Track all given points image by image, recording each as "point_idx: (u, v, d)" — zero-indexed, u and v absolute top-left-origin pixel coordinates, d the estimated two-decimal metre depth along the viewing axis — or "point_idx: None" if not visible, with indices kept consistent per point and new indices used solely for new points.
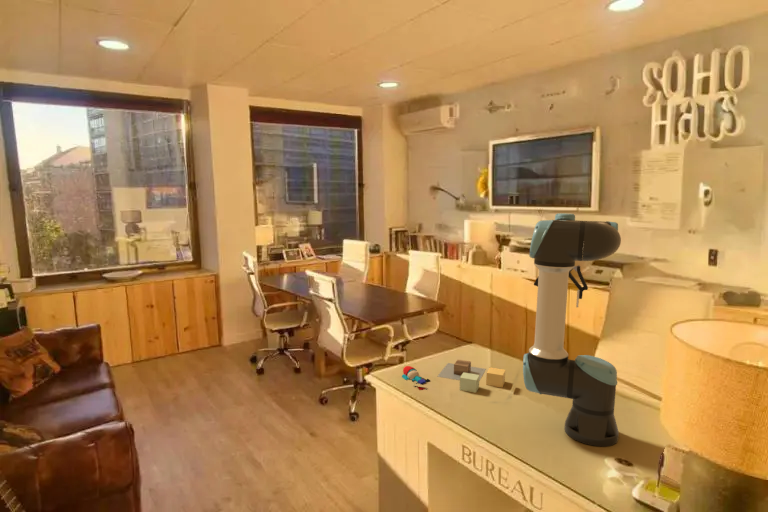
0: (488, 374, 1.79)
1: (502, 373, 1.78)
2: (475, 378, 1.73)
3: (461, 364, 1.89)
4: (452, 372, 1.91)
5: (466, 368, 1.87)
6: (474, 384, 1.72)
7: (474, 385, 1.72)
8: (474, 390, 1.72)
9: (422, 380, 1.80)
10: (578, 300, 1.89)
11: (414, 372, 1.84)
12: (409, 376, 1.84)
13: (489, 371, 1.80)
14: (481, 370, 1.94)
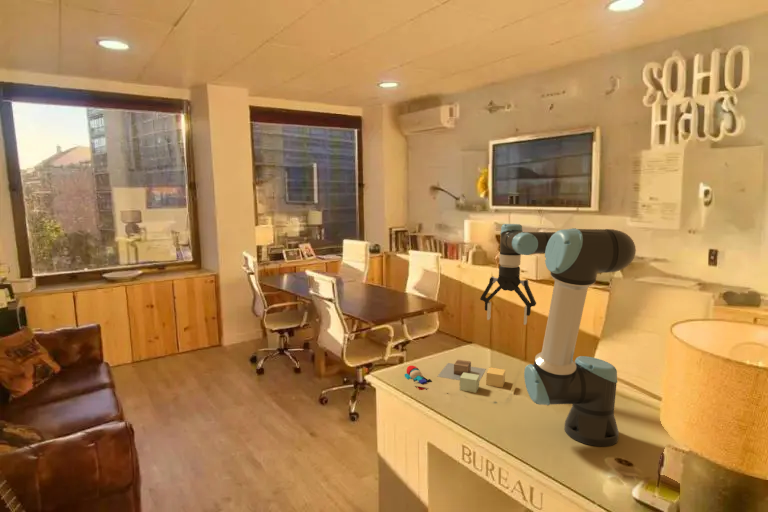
0: (488, 374, 1.79)
1: (502, 373, 1.78)
2: (475, 378, 1.73)
3: (461, 364, 1.89)
4: (452, 372, 1.91)
5: (466, 368, 1.87)
6: (474, 384, 1.72)
7: (474, 385, 1.72)
8: (474, 390, 1.72)
9: (423, 380, 1.80)
10: (525, 317, 1.76)
11: (416, 372, 1.84)
12: (411, 375, 1.84)
13: (489, 371, 1.80)
14: (481, 370, 1.94)
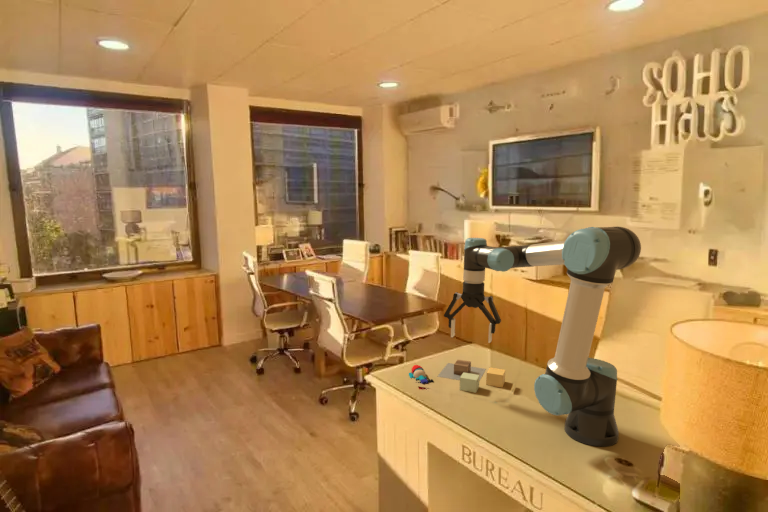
0: (488, 374, 1.79)
1: (502, 373, 1.78)
2: (475, 378, 1.73)
3: (461, 364, 1.89)
4: (452, 372, 1.91)
5: (466, 368, 1.87)
6: (474, 384, 1.72)
7: (474, 385, 1.72)
8: (474, 390, 1.72)
9: (424, 380, 1.81)
10: (490, 335, 1.69)
11: (419, 371, 1.85)
12: (414, 375, 1.85)
13: (489, 371, 1.80)
14: (481, 370, 1.94)
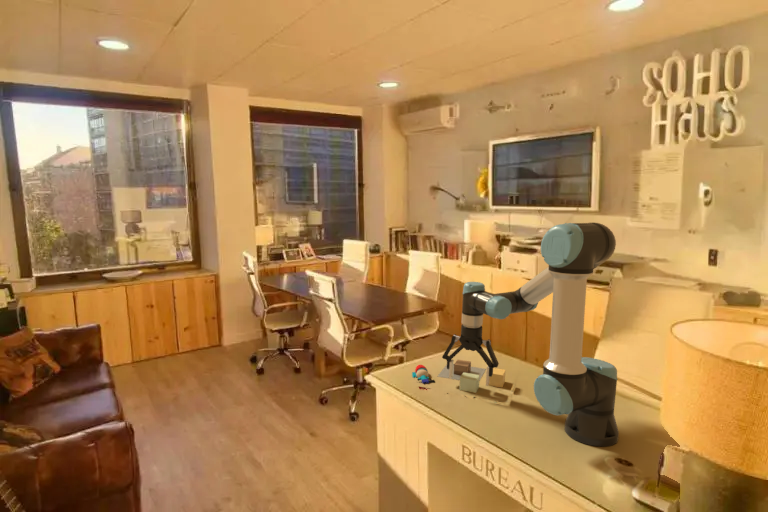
0: None
1: (502, 373, 1.78)
2: (475, 378, 1.73)
3: (461, 364, 1.89)
4: None
5: (466, 368, 1.87)
6: (474, 384, 1.72)
7: (474, 385, 1.72)
8: (474, 390, 1.72)
9: (425, 380, 1.81)
10: (488, 378, 1.72)
11: (422, 371, 1.85)
12: (417, 374, 1.85)
13: None
14: (481, 370, 1.94)
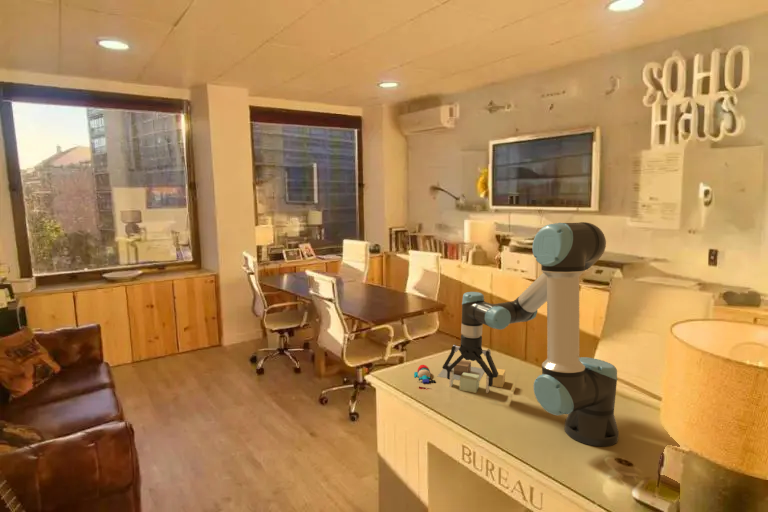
0: None
1: (502, 373, 1.78)
2: (475, 378, 1.73)
3: (461, 364, 1.89)
4: None
5: (466, 368, 1.87)
6: (474, 384, 1.72)
7: (474, 385, 1.72)
8: (474, 390, 1.72)
9: (426, 380, 1.81)
10: (487, 388, 1.72)
11: (423, 371, 1.85)
12: (418, 374, 1.86)
13: None
14: (481, 370, 1.94)
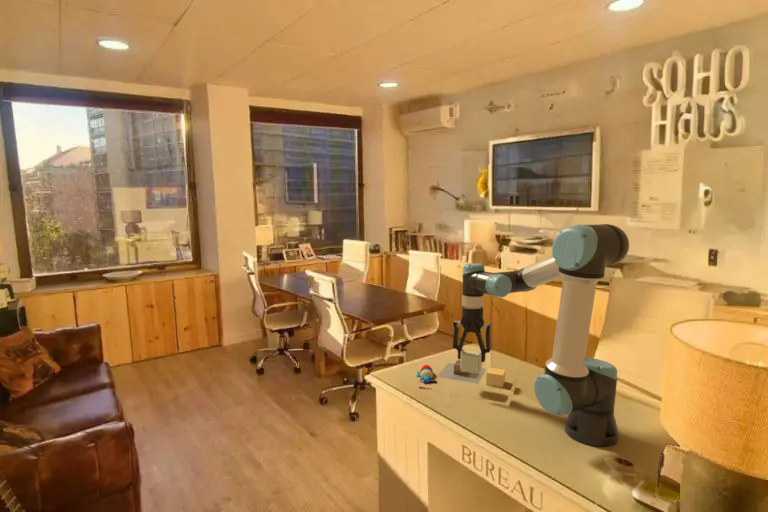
0: (488, 374, 1.79)
1: (502, 373, 1.78)
2: (477, 355, 1.72)
3: None
4: (452, 372, 1.91)
5: None
6: (476, 361, 1.71)
7: (476, 362, 1.71)
8: (476, 367, 1.71)
9: (427, 380, 1.81)
10: (480, 363, 1.71)
11: (426, 371, 1.85)
12: (420, 374, 1.86)
13: (489, 371, 1.80)
14: (481, 370, 1.94)
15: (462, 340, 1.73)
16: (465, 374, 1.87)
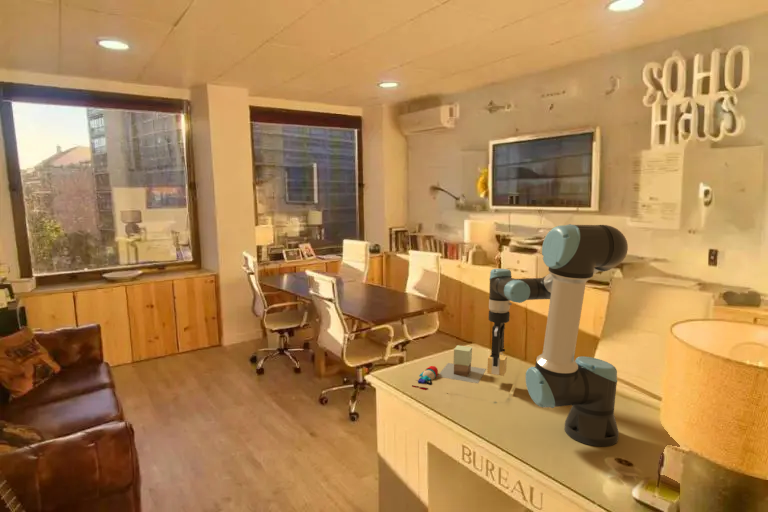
0: (489, 359, 1.77)
1: (503, 358, 1.77)
2: (468, 350, 1.88)
3: None
4: (452, 372, 1.91)
5: (466, 368, 1.87)
6: (467, 355, 1.87)
7: (467, 356, 1.87)
8: (467, 361, 1.87)
9: (422, 380, 1.81)
10: None
11: (427, 372, 1.85)
12: (422, 374, 1.86)
13: None
14: (481, 370, 1.94)
15: None
16: (465, 374, 1.87)
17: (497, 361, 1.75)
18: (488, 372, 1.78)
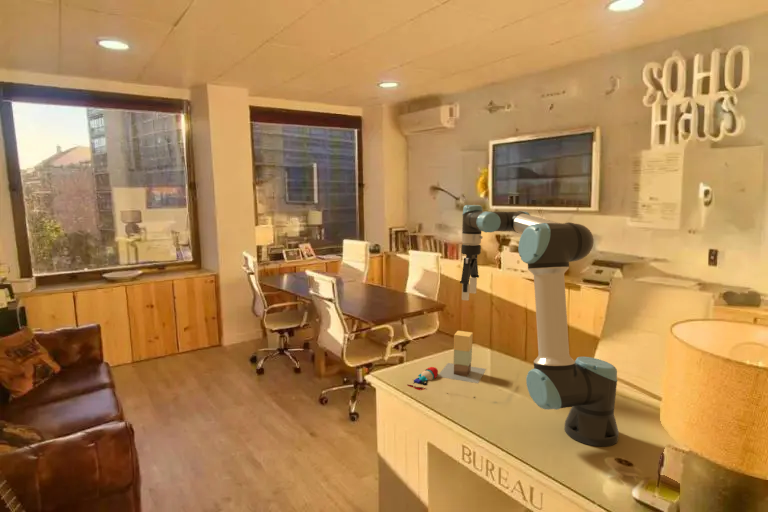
0: (455, 336, 1.87)
1: (469, 335, 1.87)
2: None
3: None
4: (452, 372, 1.91)
5: (466, 368, 1.87)
6: (467, 355, 1.87)
7: (467, 356, 1.87)
8: (467, 361, 1.87)
9: (418, 380, 1.81)
10: None
11: (425, 372, 1.84)
12: None
13: (457, 333, 1.89)
14: (481, 370, 1.94)
15: None
16: (465, 374, 1.87)
17: (467, 287, 1.85)
18: (454, 348, 1.88)
